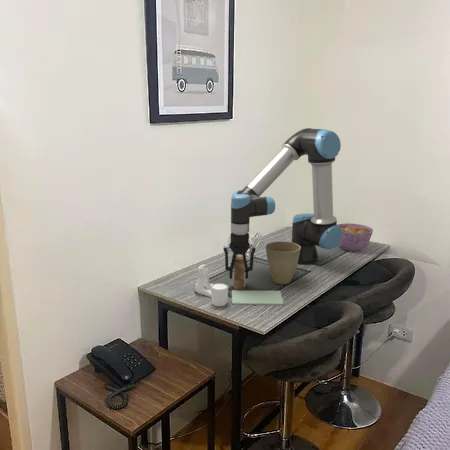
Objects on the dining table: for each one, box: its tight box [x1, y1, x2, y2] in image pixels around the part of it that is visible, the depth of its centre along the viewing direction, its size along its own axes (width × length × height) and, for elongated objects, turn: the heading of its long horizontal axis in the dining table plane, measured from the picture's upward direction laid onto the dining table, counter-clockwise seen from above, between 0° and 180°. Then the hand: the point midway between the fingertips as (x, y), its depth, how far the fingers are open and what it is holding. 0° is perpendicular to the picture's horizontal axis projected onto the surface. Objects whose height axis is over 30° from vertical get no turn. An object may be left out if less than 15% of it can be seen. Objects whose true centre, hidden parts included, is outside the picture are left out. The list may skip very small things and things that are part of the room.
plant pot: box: [265, 240, 301, 285], centre depth 197 cm, size 15×15×16 cm
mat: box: [231, 289, 285, 306], centre depth 181 cm, size 20×12×1 cm, turn 90°
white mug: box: [210, 282, 229, 307], centre depth 175 cm, size 7×7×7 cm
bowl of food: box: [337, 222, 374, 252], centre depth 241 cm, size 20×20×12 cm
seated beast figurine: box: [194, 264, 214, 298], centre depth 184 cm, size 10×9×12 cm
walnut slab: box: [233, 256, 245, 290], centre depth 190 cm, size 4×9×12 cm, turn 0°
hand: (238, 285), depth 192 cm, fingers closed on walnut slab, 4 cm apart
